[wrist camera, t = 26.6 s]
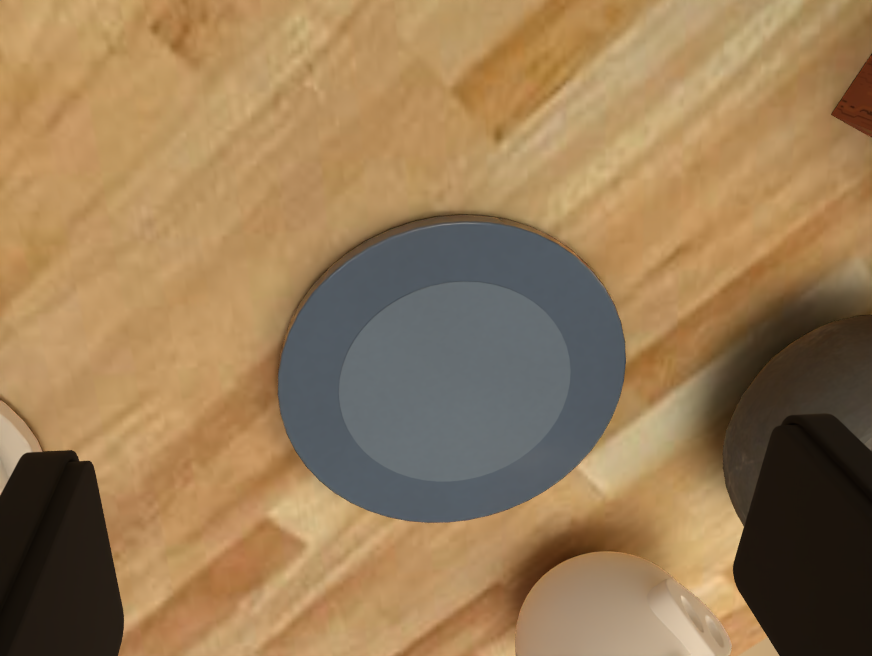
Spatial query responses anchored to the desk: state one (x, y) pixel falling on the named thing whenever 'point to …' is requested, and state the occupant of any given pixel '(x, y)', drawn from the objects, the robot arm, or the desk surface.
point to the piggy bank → (615, 612)
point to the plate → (450, 369)
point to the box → (858, 101)
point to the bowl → (801, 398)
